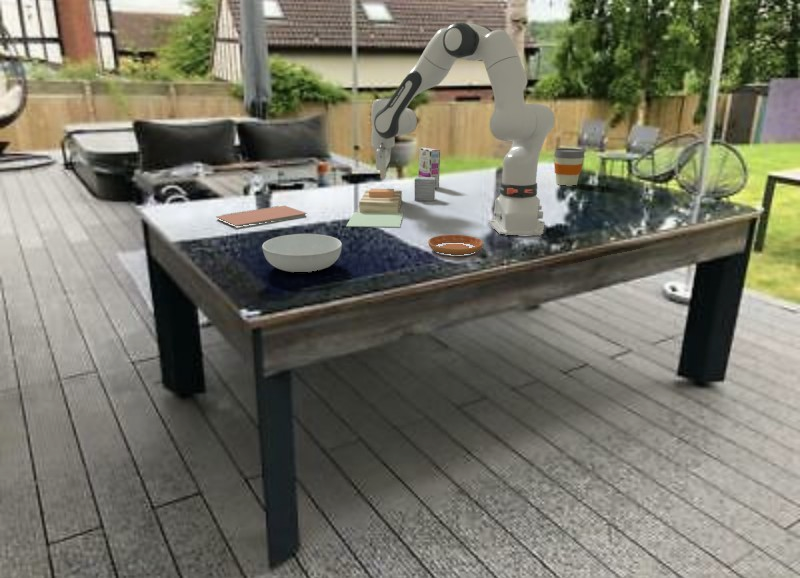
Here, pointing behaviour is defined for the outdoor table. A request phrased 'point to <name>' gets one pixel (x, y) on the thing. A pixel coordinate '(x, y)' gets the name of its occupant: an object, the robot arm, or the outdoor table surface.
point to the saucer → (455, 248)
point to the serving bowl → (302, 252)
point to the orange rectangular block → (381, 193)
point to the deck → (381, 203)
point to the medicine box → (424, 189)
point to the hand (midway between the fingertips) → (383, 177)
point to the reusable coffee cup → (568, 165)
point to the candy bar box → (429, 163)
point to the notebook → (262, 215)
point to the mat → (375, 219)
